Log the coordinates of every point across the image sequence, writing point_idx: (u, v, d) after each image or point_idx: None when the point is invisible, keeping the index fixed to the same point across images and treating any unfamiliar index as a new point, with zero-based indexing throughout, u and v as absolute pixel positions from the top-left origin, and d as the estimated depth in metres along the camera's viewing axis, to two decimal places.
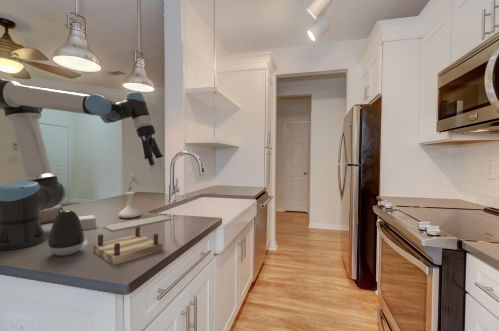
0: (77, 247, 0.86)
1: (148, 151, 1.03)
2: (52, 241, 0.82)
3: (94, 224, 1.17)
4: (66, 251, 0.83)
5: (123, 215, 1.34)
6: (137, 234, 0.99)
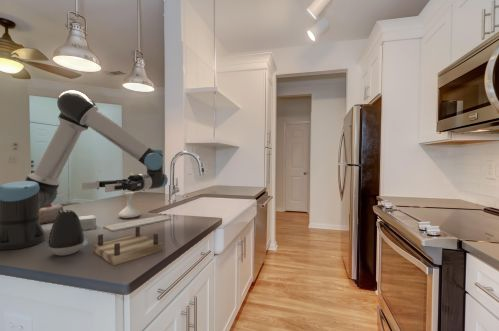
0: (77, 247, 0.86)
1: (131, 188, 1.00)
2: (52, 241, 0.82)
3: (94, 224, 1.16)
4: (66, 251, 0.83)
5: (123, 215, 1.34)
6: (137, 234, 0.99)
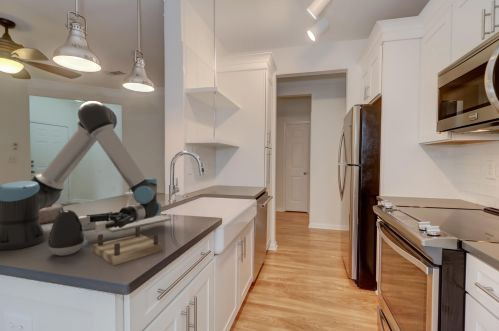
0: (77, 247, 0.86)
1: (123, 225, 0.96)
2: (52, 241, 0.82)
3: (94, 224, 1.16)
4: (66, 251, 0.83)
5: None
6: (137, 234, 0.99)
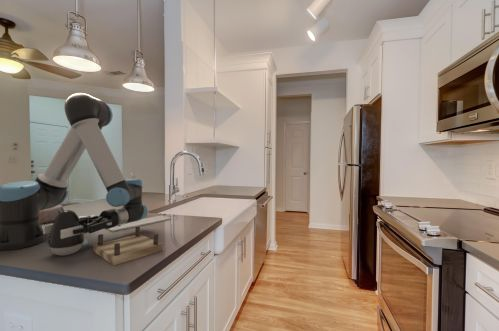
0: (77, 247, 0.86)
1: (94, 230, 0.88)
2: (52, 241, 0.82)
3: None
4: (66, 251, 0.83)
5: None
6: (137, 234, 0.99)
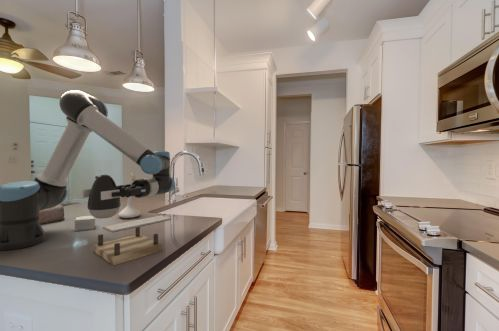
0: (115, 210, 0.87)
1: (131, 195, 0.89)
2: (92, 203, 0.83)
3: (93, 225, 1.15)
4: (105, 214, 0.85)
5: (123, 215, 1.34)
6: (137, 234, 0.99)
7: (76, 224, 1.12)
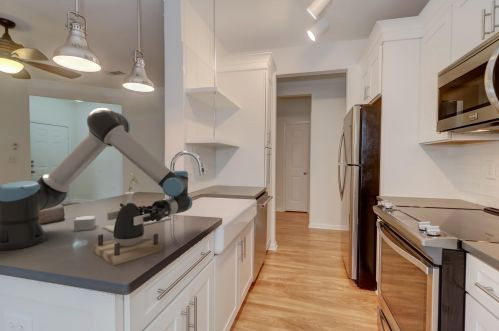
0: (140, 238, 0.89)
1: (160, 218, 0.91)
2: (118, 232, 0.85)
3: (92, 225, 1.15)
4: (131, 243, 0.86)
5: None
6: None
7: (75, 224, 1.12)
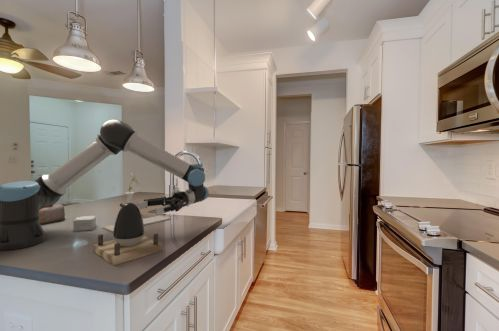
0: (140, 238, 0.89)
1: (179, 208, 1.02)
2: (118, 232, 0.85)
3: (91, 225, 1.14)
4: (131, 243, 0.86)
5: None
6: None
7: (75, 224, 1.12)
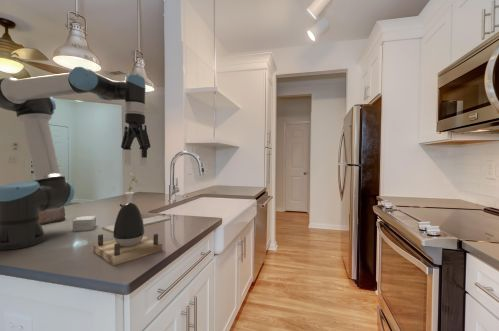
0: (140, 238, 0.89)
1: (148, 142, 0.97)
2: (118, 232, 0.85)
3: (90, 226, 1.14)
4: (131, 243, 0.86)
5: None
6: None
7: (74, 224, 1.12)
